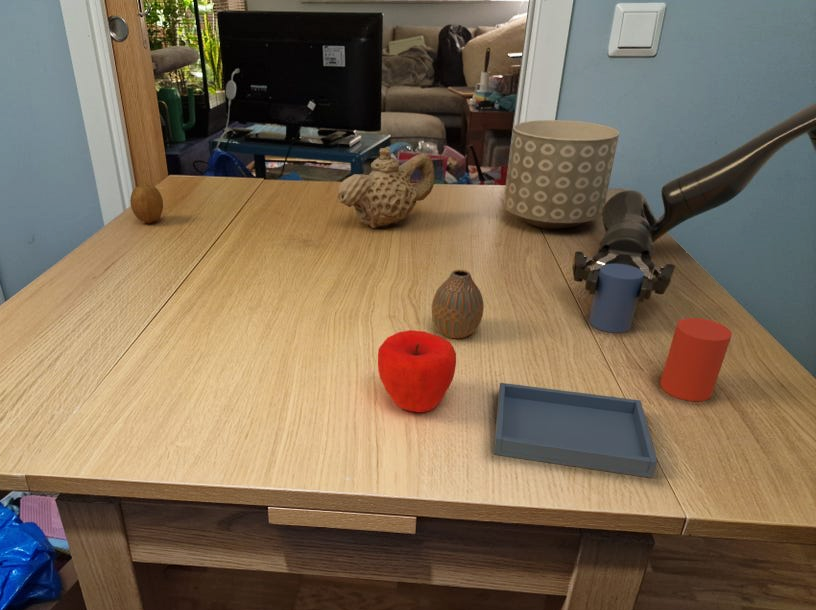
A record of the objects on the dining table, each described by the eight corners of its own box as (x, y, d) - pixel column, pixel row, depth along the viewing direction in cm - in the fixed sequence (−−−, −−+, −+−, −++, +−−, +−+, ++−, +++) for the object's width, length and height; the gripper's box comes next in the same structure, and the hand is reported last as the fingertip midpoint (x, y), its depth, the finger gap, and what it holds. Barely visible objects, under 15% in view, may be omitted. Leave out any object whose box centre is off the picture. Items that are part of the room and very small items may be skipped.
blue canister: (628, 317, 96) (640, 265, 92) (633, 334, 91) (647, 280, 87) (587, 313, 97) (598, 261, 93) (590, 330, 92) (602, 276, 88)
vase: (488, 329, 92) (496, 270, 88) (467, 348, 87) (474, 287, 83) (443, 316, 96) (448, 259, 91) (421, 335, 91) (425, 275, 86)
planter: (536, 203, 145) (550, 116, 136) (618, 224, 132) (638, 130, 123) (482, 221, 134) (493, 128, 125) (565, 245, 122) (583, 144, 113)
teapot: (353, 241, 124) (354, 159, 116) (324, 223, 132) (324, 146, 125) (445, 224, 132) (452, 147, 125) (413, 209, 141) (417, 136, 134)
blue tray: (636, 415, 74) (640, 400, 73) (652, 478, 64) (657, 462, 64) (497, 396, 77) (500, 382, 76) (493, 454, 68) (495, 438, 67)
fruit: (169, 218, 135) (164, 179, 131) (159, 228, 130) (154, 187, 126) (140, 217, 136) (134, 178, 132) (128, 227, 130) (122, 186, 127)
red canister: (705, 379, 81) (725, 320, 77) (716, 404, 76) (737, 342, 72) (656, 373, 82) (672, 315, 78) (664, 397, 77) (682, 337, 73)
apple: (366, 386, 79) (367, 328, 75) (435, 378, 81) (440, 320, 77) (388, 429, 71) (391, 367, 68) (464, 419, 73) (471, 357, 69)
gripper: (669, 281, 101) (668, 326, 88) (572, 266, 107) (557, 307, 93) (682, 234, 98) (683, 273, 84) (581, 221, 103) (566, 257, 89)
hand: (617, 291), depth 89 cm, fingers closed on blue canister, 5 cm apart
